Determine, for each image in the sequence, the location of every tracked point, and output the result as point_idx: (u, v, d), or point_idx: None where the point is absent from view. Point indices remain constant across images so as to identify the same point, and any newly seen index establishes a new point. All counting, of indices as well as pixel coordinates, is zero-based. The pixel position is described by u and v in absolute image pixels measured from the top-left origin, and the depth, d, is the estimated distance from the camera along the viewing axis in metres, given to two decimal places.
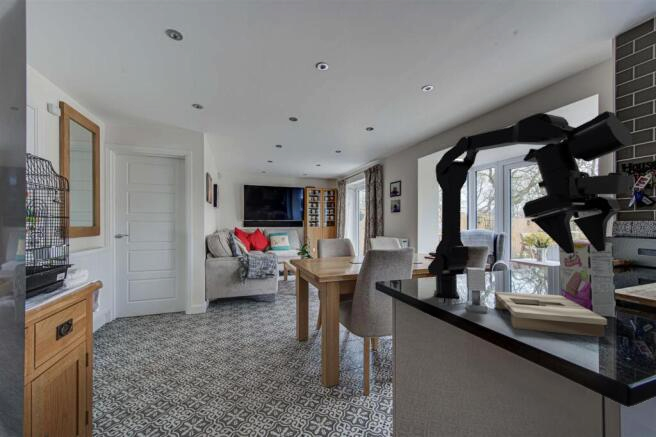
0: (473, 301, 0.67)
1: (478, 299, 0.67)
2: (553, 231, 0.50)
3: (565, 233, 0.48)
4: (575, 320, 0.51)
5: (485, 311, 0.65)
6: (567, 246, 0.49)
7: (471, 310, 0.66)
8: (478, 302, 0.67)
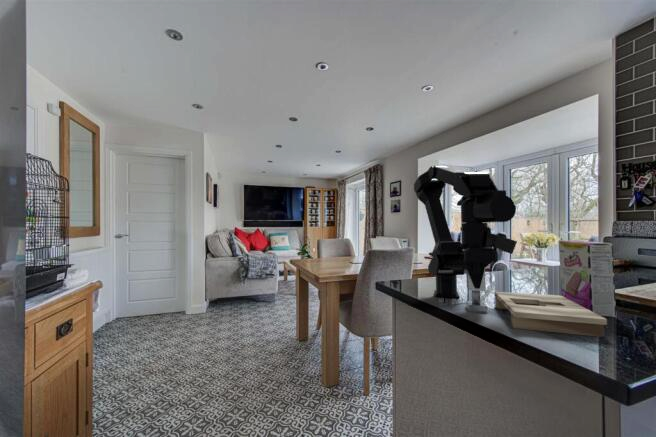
0: (473, 301, 0.67)
1: (478, 299, 0.67)
2: (473, 271, 0.65)
3: (481, 275, 0.65)
4: (575, 320, 0.51)
5: (485, 311, 0.65)
6: (477, 284, 0.66)
7: (471, 310, 0.66)
8: (478, 302, 0.67)
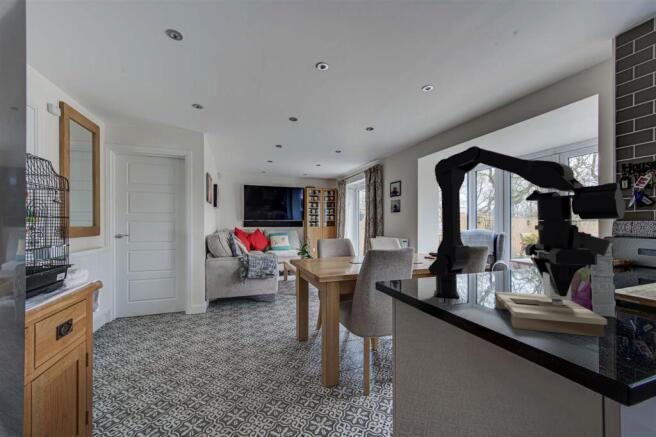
0: None
1: None
2: (559, 276, 0.56)
3: (569, 281, 0.56)
4: (575, 320, 0.51)
5: None
6: (563, 291, 0.57)
7: None
8: None
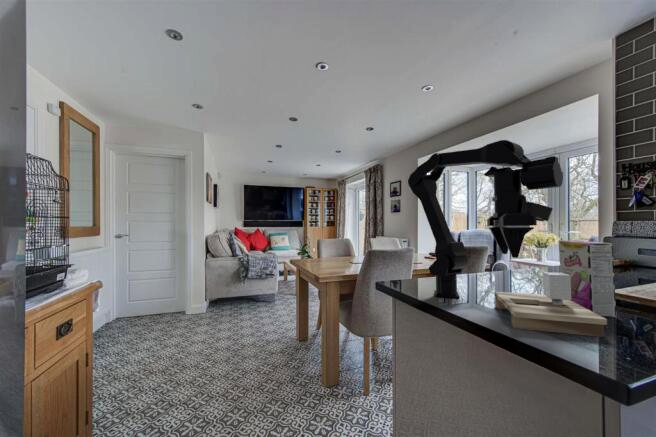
0: None
1: None
2: (511, 239, 0.63)
3: (520, 243, 0.62)
4: (575, 320, 0.51)
5: None
6: (515, 252, 0.63)
7: None
8: None
